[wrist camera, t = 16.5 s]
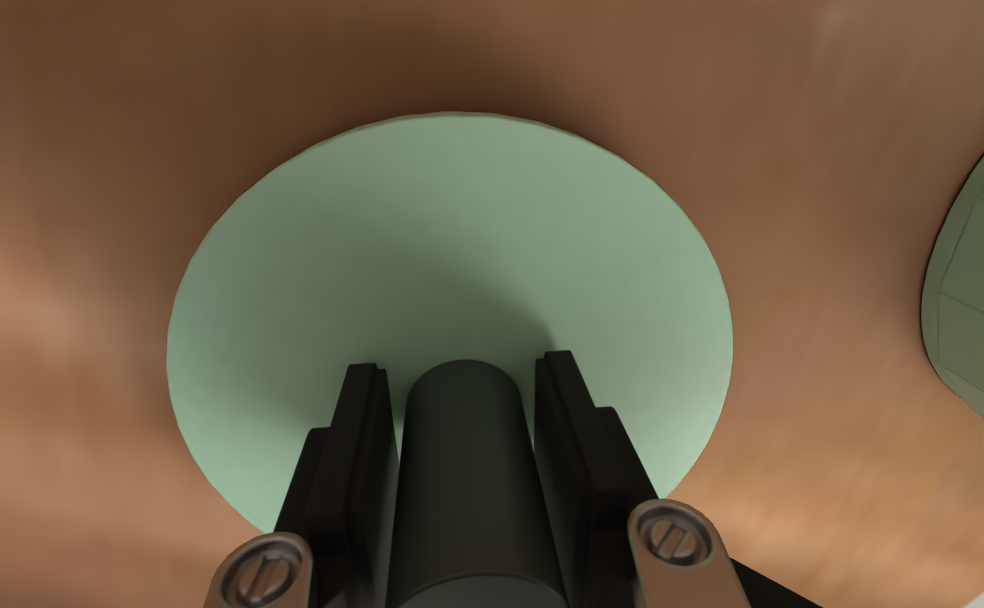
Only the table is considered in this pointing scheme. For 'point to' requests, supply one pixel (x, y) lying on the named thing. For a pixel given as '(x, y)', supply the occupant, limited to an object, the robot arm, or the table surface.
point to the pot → (958, 296)
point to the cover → (448, 332)
